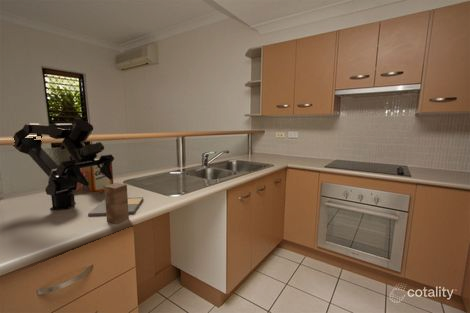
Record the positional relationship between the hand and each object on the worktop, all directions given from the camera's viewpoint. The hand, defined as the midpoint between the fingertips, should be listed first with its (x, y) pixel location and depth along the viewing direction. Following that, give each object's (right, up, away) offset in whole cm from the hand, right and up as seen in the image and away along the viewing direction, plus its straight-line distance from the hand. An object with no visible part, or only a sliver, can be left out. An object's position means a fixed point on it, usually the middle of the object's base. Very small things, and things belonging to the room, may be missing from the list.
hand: (100, 182), depth 81 cm
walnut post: (+7, -14, -1) cm, 15 cm away
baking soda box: (-19, -8, +33) cm, 39 cm away
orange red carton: (-30, -7, +37) cm, 48 cm away
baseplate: (+1, -12, +11) cm, 16 cm away
